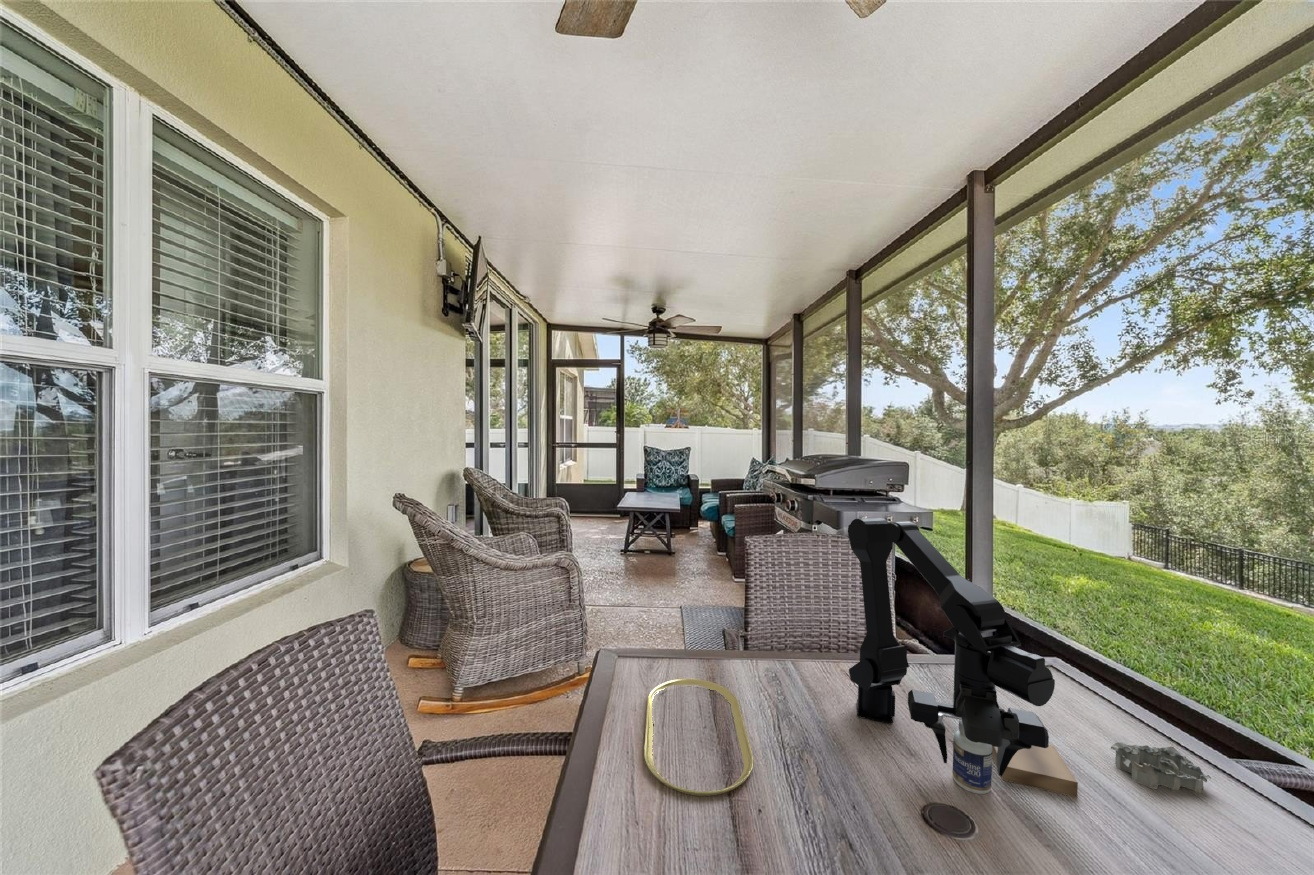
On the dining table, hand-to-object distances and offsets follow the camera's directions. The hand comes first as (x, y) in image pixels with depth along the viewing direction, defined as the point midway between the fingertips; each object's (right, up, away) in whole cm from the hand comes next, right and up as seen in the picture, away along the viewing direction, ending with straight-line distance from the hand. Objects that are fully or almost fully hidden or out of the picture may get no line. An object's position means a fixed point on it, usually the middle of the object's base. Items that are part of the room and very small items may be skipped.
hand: (971, 768), depth 81 cm
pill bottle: (0, -3, 0) cm, 3 cm away
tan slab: (+12, -3, +4) cm, 13 cm away
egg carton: (+33, -4, +3) cm, 34 cm away
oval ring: (-44, -2, +13) cm, 46 cm away
